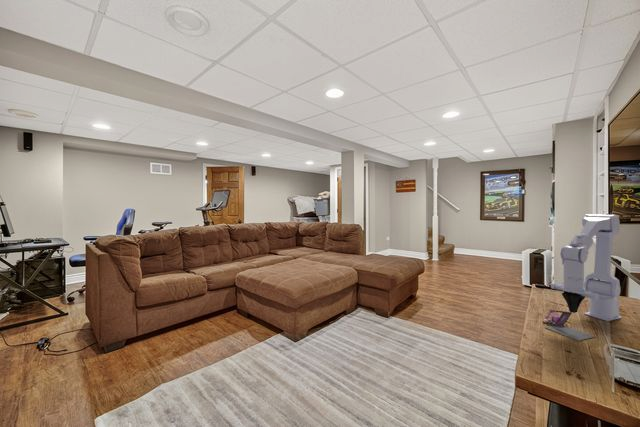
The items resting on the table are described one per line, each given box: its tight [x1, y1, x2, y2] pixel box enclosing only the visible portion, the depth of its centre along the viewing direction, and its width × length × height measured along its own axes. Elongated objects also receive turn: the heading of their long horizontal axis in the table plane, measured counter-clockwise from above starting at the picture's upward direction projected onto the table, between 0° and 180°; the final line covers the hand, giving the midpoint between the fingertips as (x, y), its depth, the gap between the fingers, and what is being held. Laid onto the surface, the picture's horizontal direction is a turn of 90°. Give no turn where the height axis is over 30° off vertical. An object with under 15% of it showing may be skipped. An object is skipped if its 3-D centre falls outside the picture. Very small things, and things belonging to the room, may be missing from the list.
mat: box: [544, 324, 596, 342], centre depth 103 cm, size 9×11×1 cm
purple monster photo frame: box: [542, 309, 572, 326], centre depth 108 cm, size 7×5×9 cm
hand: (573, 311), depth 105 cm, fingers closed
